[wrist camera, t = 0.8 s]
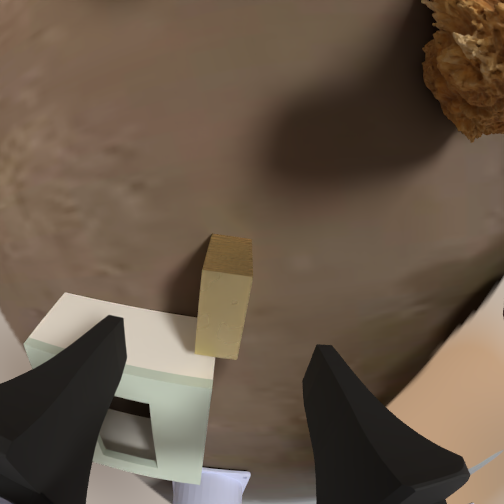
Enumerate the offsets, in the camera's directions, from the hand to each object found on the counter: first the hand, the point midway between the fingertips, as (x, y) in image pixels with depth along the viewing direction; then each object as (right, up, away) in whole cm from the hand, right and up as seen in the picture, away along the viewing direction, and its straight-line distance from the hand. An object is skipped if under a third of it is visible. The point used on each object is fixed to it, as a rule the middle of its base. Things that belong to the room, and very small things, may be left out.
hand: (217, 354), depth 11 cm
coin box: (-6, -5, +9) cm, 12 cm away
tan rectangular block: (0, +3, +6) cm, 6 cm away
